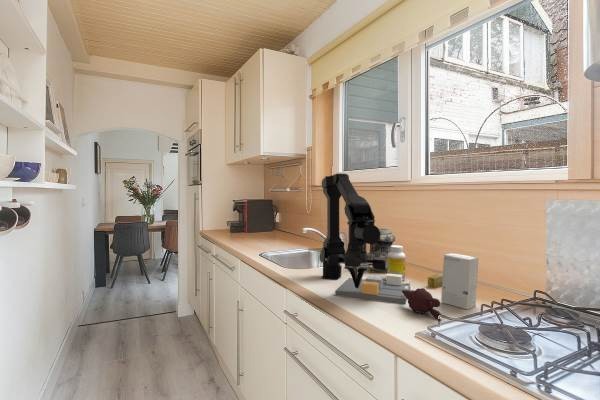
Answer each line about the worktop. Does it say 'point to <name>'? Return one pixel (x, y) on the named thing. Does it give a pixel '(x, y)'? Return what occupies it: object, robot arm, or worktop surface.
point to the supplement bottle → (396, 261)
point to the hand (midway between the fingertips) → (357, 287)
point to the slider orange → (370, 288)
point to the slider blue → (375, 280)
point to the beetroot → (422, 301)
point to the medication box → (435, 281)
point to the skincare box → (459, 280)
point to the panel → (385, 294)
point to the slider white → (394, 279)
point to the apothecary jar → (381, 247)
